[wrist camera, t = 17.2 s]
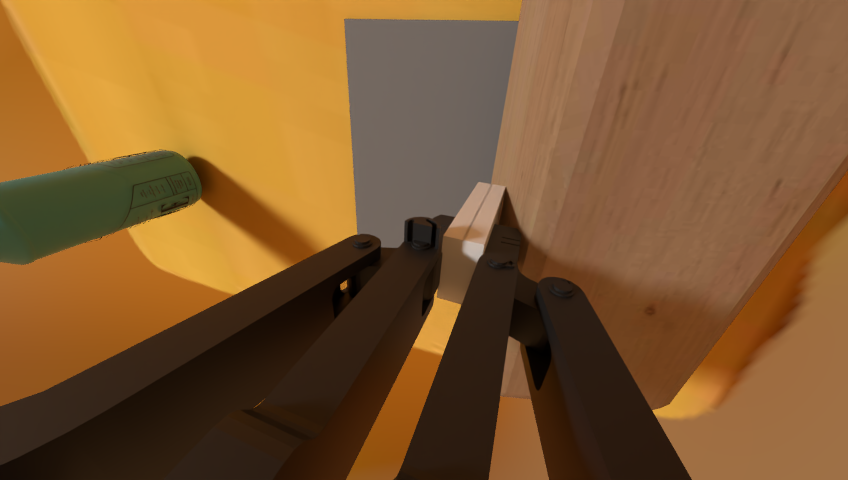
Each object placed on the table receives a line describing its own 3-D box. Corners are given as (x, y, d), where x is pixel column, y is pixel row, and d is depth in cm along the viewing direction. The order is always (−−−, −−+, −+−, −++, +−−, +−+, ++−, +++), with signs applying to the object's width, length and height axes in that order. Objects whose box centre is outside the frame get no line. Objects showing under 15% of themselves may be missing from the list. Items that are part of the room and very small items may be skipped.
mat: (347, 19, 22) (344, 18, 21) (709, 24, 16) (713, 23, 15) (360, 244, 31) (358, 246, 31) (590, 301, 25) (591, 304, 25)
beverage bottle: (173, 133, 33) (-196, 186, 17) (220, 170, 33) (-102, 260, 17) (171, 178, 37) (-134, 257, 20) (213, 211, 37) (-57, 317, 20)
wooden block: (1106, -125, 6) (669, 420, 16) (722, -10, 15) (591, 298, 25) (622, -144, 7) (483, 402, 16) (522, -20, 15) (470, 288, 25)
